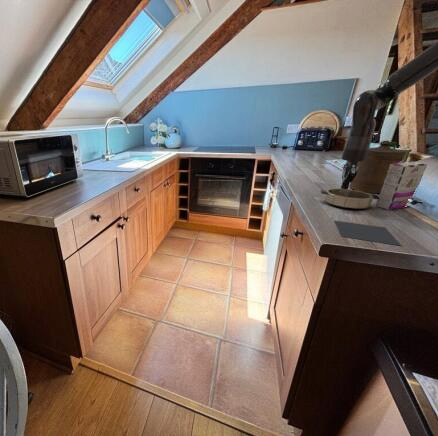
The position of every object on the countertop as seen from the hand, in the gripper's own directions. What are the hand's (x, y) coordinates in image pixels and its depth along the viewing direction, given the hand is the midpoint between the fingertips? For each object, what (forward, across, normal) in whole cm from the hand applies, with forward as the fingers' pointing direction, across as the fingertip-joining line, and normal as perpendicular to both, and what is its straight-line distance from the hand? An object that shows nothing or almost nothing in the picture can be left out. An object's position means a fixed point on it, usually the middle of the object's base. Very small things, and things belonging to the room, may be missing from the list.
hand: (343, 190), depth 101 cm
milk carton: (+4, +39, -19) cm, 44 cm away
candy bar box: (+4, -5, -15) cm, 16 cm away
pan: (+3, -9, 0) cm, 9 cm away
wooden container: (+4, +21, -14) cm, 26 cm away
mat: (+3, -36, 0) cm, 37 cm away
